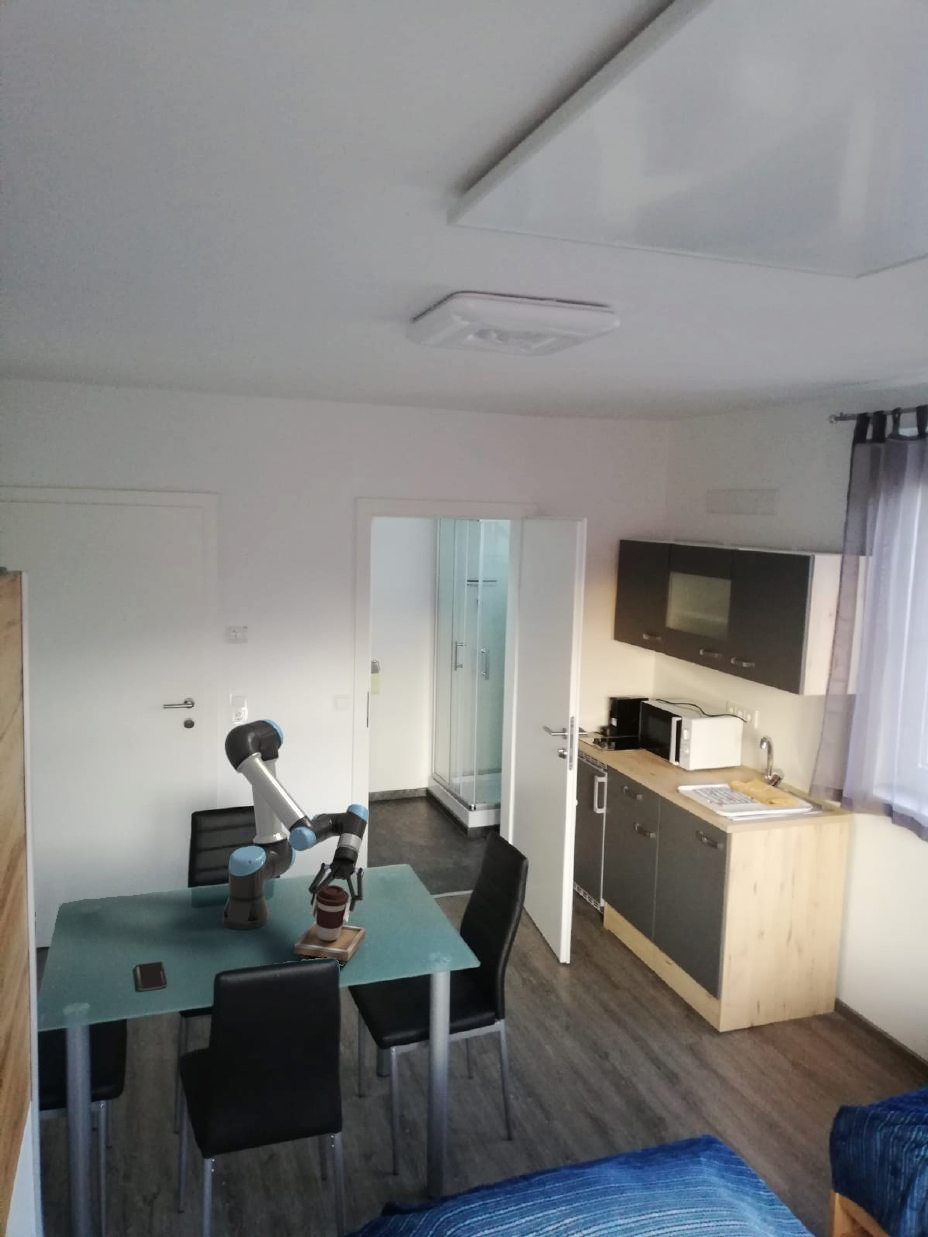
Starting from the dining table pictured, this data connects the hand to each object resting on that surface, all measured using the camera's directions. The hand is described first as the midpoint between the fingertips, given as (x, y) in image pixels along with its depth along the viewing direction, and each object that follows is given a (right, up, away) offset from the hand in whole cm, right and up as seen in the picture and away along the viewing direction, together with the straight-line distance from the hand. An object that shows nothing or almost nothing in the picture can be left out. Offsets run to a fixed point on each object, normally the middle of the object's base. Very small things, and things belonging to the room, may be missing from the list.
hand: (328, 918), depth 273 cm
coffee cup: (-1, -7, +3) cm, 7 cm away
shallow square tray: (0, -12, +4) cm, 13 cm away
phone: (-49, -12, -15) cm, 53 cm away
